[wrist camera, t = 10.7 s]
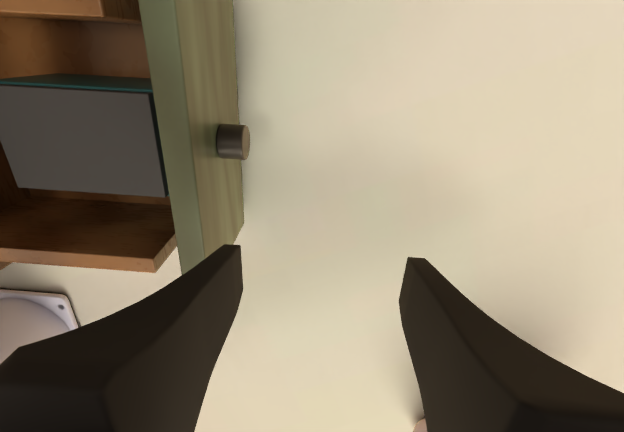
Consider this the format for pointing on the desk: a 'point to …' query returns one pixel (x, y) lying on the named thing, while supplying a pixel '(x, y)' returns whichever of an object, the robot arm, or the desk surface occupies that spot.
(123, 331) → the robot arm
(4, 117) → the teal and grey block
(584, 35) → the desk surface
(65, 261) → the drawer
